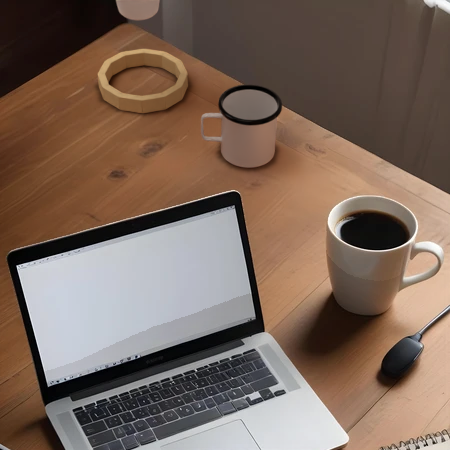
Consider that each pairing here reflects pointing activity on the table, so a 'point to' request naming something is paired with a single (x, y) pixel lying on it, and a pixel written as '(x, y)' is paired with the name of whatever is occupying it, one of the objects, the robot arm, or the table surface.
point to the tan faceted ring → (148, 101)
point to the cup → (138, 8)
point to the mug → (247, 124)
